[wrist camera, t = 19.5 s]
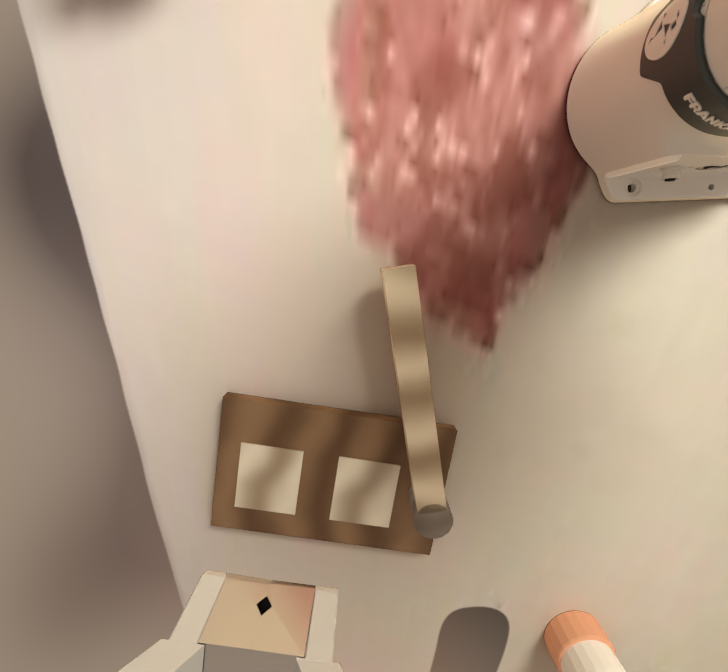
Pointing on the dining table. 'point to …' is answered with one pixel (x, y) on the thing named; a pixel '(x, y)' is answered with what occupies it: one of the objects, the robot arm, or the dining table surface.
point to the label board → (318, 473)
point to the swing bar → (416, 401)
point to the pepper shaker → (580, 644)
